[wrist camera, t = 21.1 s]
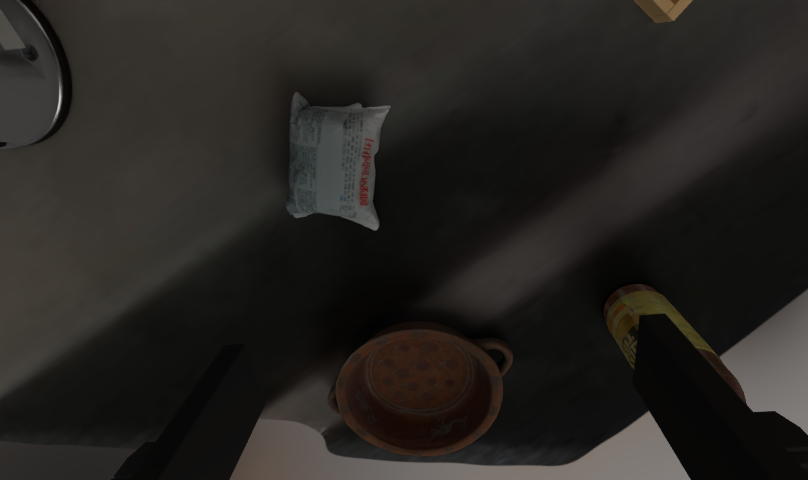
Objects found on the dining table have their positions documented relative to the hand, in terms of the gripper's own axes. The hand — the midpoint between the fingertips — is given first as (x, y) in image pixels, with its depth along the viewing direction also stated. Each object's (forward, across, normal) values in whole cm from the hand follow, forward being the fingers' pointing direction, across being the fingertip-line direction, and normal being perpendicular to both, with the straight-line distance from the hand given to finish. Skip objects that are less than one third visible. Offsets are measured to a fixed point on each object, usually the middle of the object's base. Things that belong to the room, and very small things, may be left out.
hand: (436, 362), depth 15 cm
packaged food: (+29, -8, +1) cm, 30 cm away
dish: (+29, -4, -24) cm, 38 cm away
